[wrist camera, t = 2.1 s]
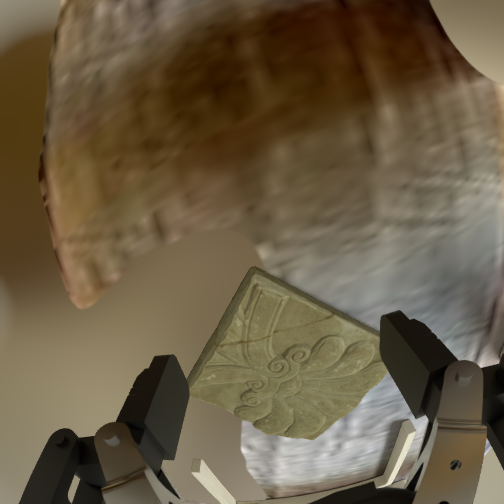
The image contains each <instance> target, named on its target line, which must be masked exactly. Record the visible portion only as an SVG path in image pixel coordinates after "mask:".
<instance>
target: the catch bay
mask: <svg viewBox="0 0 504 504" xmlns="http://www.w3.org/2000/svg"><path fill="white" fill-rule="evenodd" d="M415 433H416V430H415V428H414V426H413V424H412V422H411V420H410V419H409V420H406V421H404V422H402V425H401V428H400V431H399V434H398V437H397V440H396V443H395V446H394V449H393V451H392V454H391V457H390V459H389V462H388V464H387V467H386V469H385V472H384V474H383V475H382V476H379V477H376V478H373V479H370V480H367V481H363V482H360V483H356V484H353V485H349V486H345V487H342V488H337V489H333V490H329V491H324V492H319V493H314V494H309V495H303V496H296V497H289V498H281V499H271V500H260V501H236V500H235V499H234V498H233V497H232V496H231V495H230V493H229V492H228V491H227V490H226V489H225V488H224V487H223V485H222V484H221V483H220V482H219V481H218V479H217V478H216V477H215V476H214V475H213V473H212V472H211V471H210V469H209V468H208V467H207V465H206V464H205V463H204V462H203V460H202V459H193V464H192V469H191V473H192V474H193V475H194V476H195V477H196V478H197V479H198V481H199V482H200V483H201V484H202V485H203V486H204V487H205V488H206V489H207V490H208V491H209V492H210V493H211V494H212V495H213V496H214V497H215V498H216V499H217V500H218V501H219V502H220V503H221V504H308V503H311V502H313V501H316V500H318V499H321V498H323V497H325V496H328V495H330V494H332V493H334V492H337V491H341V490H345V489H349V488H352V487H356V486H359V485H362V484H366V483H369V482H372V481H374V483H375V486H376V488H382V487H385V486H388V485H391V484H392V482H393V480H394V478H395V476H396V474H397V472H398V470H399V468H400V466H401V464H402V462H403V460H404V458H405V456H406V454H407V452H408V449H409V447H410V445H411V443H412V440H413V438H414V435H415Z"/></svg>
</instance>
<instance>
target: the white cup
mask: <svg viewBox="0 0 504 504" xmlns="http://www.w3.org/2000/svg"><path fill="white" fill-rule="evenodd" d="M406 481H407V480H401V481H398V482H396V483H393V484H391V485H390V486H388V487H393V488H402V489H403V488H404V486H405V483H406Z"/></svg>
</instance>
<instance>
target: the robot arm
mask: <svg viewBox="0 0 504 504" xmlns="http://www.w3.org/2000/svg"><path fill="white" fill-rule="evenodd" d="M379 350H380V356H381V359H382V361H383V363H384V365H385V366H386V368H387V370H388V371H389V373H390V375H391V376H392V378H393V380H394V382H395V383H396V385H397V387H398V388H399V390H400V392H401V394H402V395H403V397H404V399H405V401H406V403H407V404H408V406H409V408H410V410H411V412H412V413H413V415H414V417H415V419H417V418H420V417H422V416H424V415H426V416H427V418H428V422H427V425H426V429H425V433H424V436H423V439H422V443H421V446H420V449H419V452H418V455H417V458H416V461H415V464H414V466H413V468H412V471H411V473H410V475H409V477H408V479H407V481H406V483H405V486H404V488H403V489H402V488H393V487H382V488H376V486H375V483H374V481H372V482H369V483H366V484H362V485H359V486H356V487H352V488H349V489H345V490H341V491H337V492H334V493H332V494H330V495H328V496H325V497H323V498H321V499H318V500H316V501H313V502H311V503H308V504H473V501H474V498H475V494H476V490H477V486H478V482H479V478H480V473H481V468H482V463H483V458H484V451H485V445H486V437H487V439H488V441H489V442H490V444H491V446H492V447H493V450H494V452H495V454H496V456H497V457H498V460H499V461H500V463H501V466H502V468H503V470H504V345H503V348H502V351H501V355H500V362H499V364H496V365H492V366H488V367H483V368H480V367H479V366H478V365H477V364H476V363H474V362H472V361H468V360H460V361H459V360H458V359H457V358H456V357H455V356H454V355H453V354H452V353H451V352H450V350H449V349H448V348H447V347H446V346H445V345H444V344H443V343H442V342H441V341H440V340H439V339H437V336H436V335H435V334H434V333H432V331H431V330H430V329H429V328H428V327H427V326H426V325H425V324H424V323H422V322H420V321H418V320H416V319H411V320H409V319H408V318H407V317H406V315H405V314H404V313H403V312H402V311H400V310H398V311H395V312H392V313H389V314H385V315H382V316H381V320H380V344H379ZM189 395H190V390H189V385H188V382H187V380H186V378H185V376H184V373H183V371H182V369H181V367H180V365H179V363H178V360H177V358H176V357H175V355H161V356H155V357H154V358H153V360H152V362H151V364H150V367H149V368H148V369H145V370H144V371H143V372H141V374H139V375H138V377H137V378H136V380H135V382H134V384H133V388H131V390H130V392H129V395H128V396H127V399H126V401H125V403H124V405H123V407H122V409H121V411H120V413H119V416H118V418H117V420H116V422H111V423H108V424H105V425H104V426H102V427H101V428H100V429H99V430H98V431H97V432H96V434H95V436H90V437H82V438H79V437H78V436H77V435H76V434H75V433H74V432H73V431H72V430H70V429H68V428H67V429H66V428H63V429H59V430H58V431H56V432H54V433H53V434H52V435H51V436H50V438H49V440H48V442H47V444H46V446H45V448H44V449H43V452H42V454H41V455H40V458H39V460H38V462H37V464H36V466H35V468H34V470H33V473H32V474H31V477H30V479H29V481H28V483H27V485H26V488H25V490H24V492H23V495H22V497H21V500H20V502H19V504H71V503H70V501H69V500H68V491H69V488H70V485H71V483H72V480H73V477H74V475H76V476H77V477H78V478H80V482H79V485H78V487H77V490H76V493H75V496H74V499H73V502H72V504H187V503H186V502H185V501H184V499H183V498H182V496H181V495H180V493H179V492H178V490H177V489H176V487H175V486H174V485H173V483H172V481H171V480H170V478H169V477H168V475H167V474H166V472H165V470H164V469H163V467H162V466H161V465H162V461H163V460H174V459H175V454H176V450H177V446H178V442H179V437H180V433H181V429H182V424H183V420H184V416H185V412H186V408H187V404H188V400H189Z"/></svg>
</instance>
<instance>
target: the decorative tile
mask: <svg viewBox="0 0 504 504" xmlns="http://www.w3.org/2000/svg"><path fill="white" fill-rule="evenodd" d="M379 344H380V332H378V331H376V330H374V329H372V328H370V327H368V326H366V325H364V324H363V323H361V322H359V321H357V320H355V319H353V318H351V317H349V316H347V315H345V314H344V313H342V312H340V311H338V310H336V309H334V308H332V307H330V306H328V305H326V304H325V303H323V302H321V301H319V300H317V299H315V298H313V297H311V296H309V295H308V294H306V293H304V292H302V291H300V290H298V289H297V288H295V287H293V286H291V285H289V284H287V283H285V282H283V281H282V280H280V279H278V278H276V277H274V276H272V275H270V274H268V273H266V272H265V271H264V270H262V269H260V268H258V267H256V266H255V267H251V268H250V269H249V271H248V272H247V274H246V276H245V277H244V279H243V281H242V282H241V284H240V286H239V288H238V290H237V292H236V293H235V295H234V297H233V298H232V301H231V302H230V304H229V306H228V307H227V309H226V311H225V313H224V315H223V317H222V318H221V320H220V322H219V324H218V326H217V328H216V330H215V331H214V333H213V334H212V336H211V337H210V339H209V341H208V342H207V344H206V346H205V348H204V350H203V351H202V354H201V355H200V357H199V359H198V360H197V362H196V363H195V365H194V367H193V369H192V370H191V372H190V374H189V376H188V378H187V382H188V385H189V390H190V396H192V397H194V398H197V399H199V400H202V401H205V402H208V403H211V404H214V405H216V406H218V407H221V408H224V409H226V410H228V411H230V412H231V413H232V414H234V415H235V416H237V417H238V418H239V419H241V420H245V421H249V422H252V424H253V426H254V427H255V428H257V429H258V430H260V431H261V432H263V433H264V434H265V435H273V434H275V435H280V436H283V437H290V438H304V439H309V440H314V439H316V438H317V437H318V436H319V435H321V434H322V433H323V432H324V431H326V430H327V429H328V428H330V427H331V426H332V425H333V424H334V423H335V422H336V421H337V420H338V419H340V418H343V417H344V416H346V415H347V414H348V413H349V412H351V411H352V410H353V409H354V408H355V407H356V406H358V404H359V403H360V402H361V400H362V398H363V397H364V396H365V395H366V393H367V392H368V391H369V390H370V389H372V388H373V387H375V386H376V385H377V384H378V383H379V382H380V381H381V380H382V379H383V378H384V377H385V375H386V374H387V372H388V370H387V368H386V366H385V365H384V363H383V361H382V359H381V356H380V350H379Z"/></svg>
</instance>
